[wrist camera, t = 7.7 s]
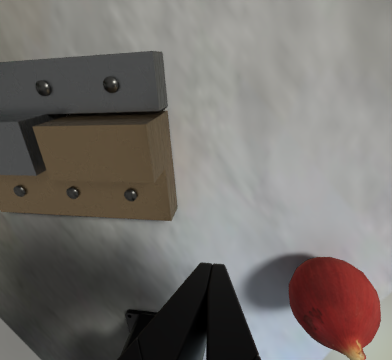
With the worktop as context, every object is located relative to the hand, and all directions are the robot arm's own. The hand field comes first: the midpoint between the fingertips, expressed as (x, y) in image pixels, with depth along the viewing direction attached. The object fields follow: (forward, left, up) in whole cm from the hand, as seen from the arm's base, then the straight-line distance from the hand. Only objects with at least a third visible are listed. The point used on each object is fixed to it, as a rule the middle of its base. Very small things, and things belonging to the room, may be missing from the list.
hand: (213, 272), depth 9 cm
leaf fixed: (+4, +13, -12) cm, 18 cm away
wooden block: (0, +13, -12) cm, 17 cm away
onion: (-10, -7, -12) cm, 17 cm away
